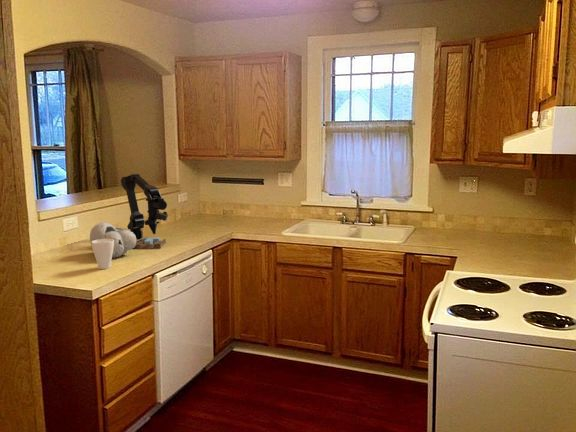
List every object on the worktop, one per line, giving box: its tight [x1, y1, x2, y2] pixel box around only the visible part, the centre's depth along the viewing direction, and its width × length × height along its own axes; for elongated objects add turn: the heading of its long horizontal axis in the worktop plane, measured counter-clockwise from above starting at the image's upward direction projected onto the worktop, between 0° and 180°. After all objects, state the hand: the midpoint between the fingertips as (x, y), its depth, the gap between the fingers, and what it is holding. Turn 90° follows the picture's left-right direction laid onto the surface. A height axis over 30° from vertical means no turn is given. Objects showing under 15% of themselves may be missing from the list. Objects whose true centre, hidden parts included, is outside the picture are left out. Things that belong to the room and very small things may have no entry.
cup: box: [90, 239, 114, 270], centre depth 259 cm, size 10×10×14 cm
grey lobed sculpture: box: [89, 221, 138, 259], centre depth 286 cm, size 20×25×22 cm
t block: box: [141, 236, 161, 244], centre depth 308 cm, size 10×10×4 cm
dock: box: [133, 238, 167, 250], centre depth 308 cm, size 15×15×2 cm
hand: (154, 234), depth 317 cm, fingers closed
